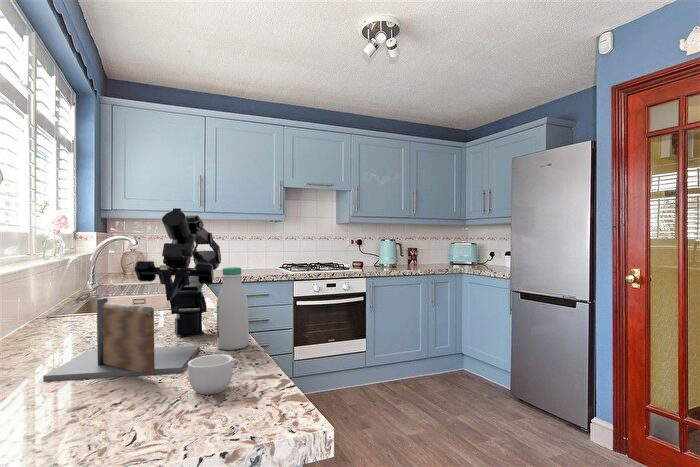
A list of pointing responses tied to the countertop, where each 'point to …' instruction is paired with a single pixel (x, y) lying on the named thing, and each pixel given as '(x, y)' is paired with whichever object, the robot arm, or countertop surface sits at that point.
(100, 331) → the hinge post
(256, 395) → the countertop surface
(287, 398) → the countertop surface
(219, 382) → the teacup
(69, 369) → the board
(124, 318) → the panel
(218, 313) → the milk bottle
